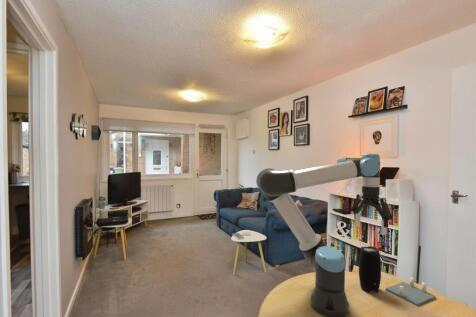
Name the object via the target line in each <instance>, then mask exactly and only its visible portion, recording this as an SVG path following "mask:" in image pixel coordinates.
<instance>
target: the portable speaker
mask: <svg viewBox="0 0 476 317" xmlns="http://www.w3.org/2000/svg"><path fill="white" fill-rule="evenodd" d="M358 277H359V286H360V288H361V290H362V291H364V292H367V293H370V292H375V293H379V292H380V286H381V285H380V284H381V279H382V260H381V253H380V250H379V249H378V248H377V247H375V246H371V245H369V246H361V247H360V253H359V258H358Z"/></svg>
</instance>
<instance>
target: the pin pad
mask: <svg viewBox="0 0 476 317" xmlns="http://www.w3.org/2000/svg"><path fill="white" fill-rule="evenodd" d="M385 291H386V292H388V293H390V294H392V295H394V296H396V297H398V298H400V299H402V300H404V301H406V302H408V303H410V304H412V305H413V306H416V307H419V306H421V305H424V304H426V303H428V302H431V301H433V300H435V299H437V298H436V297H437V296H436V295H434V294H431V293H429V292H428V291H427V283H426V282H424V281H422V282H421V289H420V288H418V287H416V286H415V278H414V277H412V276H410V277H409V283H407V282H405V281H402V282H400V283H396V284H394V285H391V286H388V287H385Z"/></svg>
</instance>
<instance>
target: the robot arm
mask: <svg viewBox="0 0 476 317" xmlns="http://www.w3.org/2000/svg"><path fill="white" fill-rule="evenodd" d="M380 165H381V157H380V154H378V153H363V154H362V155H361V157H339V158H337V160H336V163H331V164H325V165H320V166H315V167H310V168H309V167H308V168H303V169H300V170H292V169H287V170H276V169H274V168H271V167H270V168H264V169H263V170H261V171H260V172H259V173H258V174H257V176H256V186H257V187H258V189H259V190H260V191H261V193H262V195H264V197H265V199H266V200H267V201H268V202H269V203H272V204H274V207H275V208H276V209H277V211H278V212H279V214H280V215H281V217H282V218H283V220H284V221H285V223H286V225H287V227H289V229H290V231H291V232H292V234H293V235H294V236H295V238H296V239H297V241H298V243H299V244H298V245H299V246H298V247H299V250H300V251H301V253H302V254H303V257H304V258H305V260H306V261H307V262H308V263H309V264H310V266H311V268H312V269H313V270H314V274H315V276H314V277H315V280H314V281H315V283H314V288H313V292H312V294H311V297H310V306H311V307H312V309H313V310H314V311H315V312H317V313H319V314H321V315H322V316H325V317H346V316H348V314H349V312H350V305H349V301H348V298H347V294H346V291H345V284H346V282H345V281H346V280H345V279H346V259H345V256H344V253H343V252H342V251H341V250H339V249H338V248H334V247H332V246H328V245H327V244H326V242H325V241H324V239H323V238H322V236H321V235H320V234H318V233H315V231H314V230H313V228H312V227H311V225H310V224H309V222H308V220H307V219H306V218H305V216H304V214H303V213H302V212H301V210H300V209H299V207H298V206H297V204H296V203H295V201H294V199H293V197H291V193H292V194H293V193H295V192H297V190H298V189H304V188H305V189H306V188H308V187H309V188H310V187H315V186H319V185H324V184H330V183H335V182H339V181H345V180H350V179H355V178H360V177H361V185H362V186H361V193H362V194H361V193H359V194H358V193H357V194H356V196H355V197H356V198H355V200H354V203H353V204H352V207H351V208H350V212H353V214H354V216H353V217H354V220H355V221H354V222H355V223H354V224H355V228H359V227H361V217H362V216H361V211H362V210H363V209H364V208H365V207H366V206H370V207H374V208H375V210H376V211H377V212H378V214H379V216H380V217H381V218H382V219H381V221H380V222H381V224H380V228H381V230H380V231H381V233H380V235H381V236H385V235H388V231H387V230H388V228H389V221H391V220H394V217H393V214H392V212H391V210H390V208H389V206H388V203H387V198H386V197H380V193H381V192H380V190H381V189H380V188H381V187H380V184H381V182H380V181H381V177H380V175H381V166H380Z"/></svg>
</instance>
